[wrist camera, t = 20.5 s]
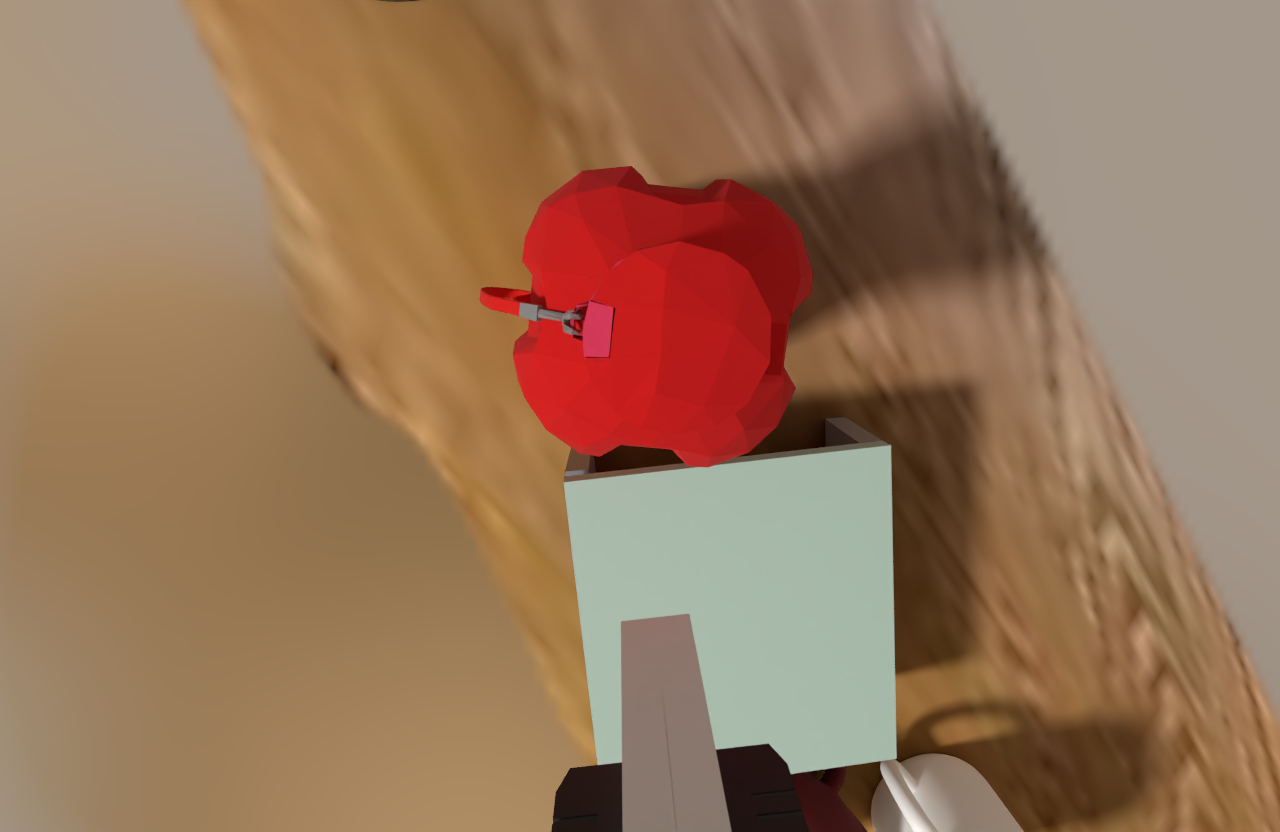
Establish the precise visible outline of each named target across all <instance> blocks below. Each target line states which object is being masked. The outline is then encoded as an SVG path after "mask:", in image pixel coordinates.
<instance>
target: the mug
mask: <svg viewBox="0 0 1280 832" xmlns="http://www.w3.org/2000/svg"><path fill="white" fill-rule="evenodd" d="M845 768H846V767H845V766H843V767H836V768H829V769H826V771H825V774H824V776H823V777H822V779H821V780H820V781H819V780H818V779H816V778H815V777H814V776H812V775H811V774H810V773H808V772H801V773H794V774H791V776H792V779H793V783H794V786H795V789H796V794H797V795H798V798H799V801H800V804H801V807H802V811H803V815H804V816H805V819H806V822H807V825H808V828H809V831H810V832H867V831H866V829H865V828H864V827H863V826H862V824H861V823H860V822H859V821H858V819H857V818H856V817H855V816H854V815H853V813H852V812H851V811H850V810H849V809H848V807H847V806H846V805H845V804H844V802H843V801H842V800H841V798H840V797H839V796H838V791H839V789H840V787H841V786H842V784H843V781H844V778H845Z"/></svg>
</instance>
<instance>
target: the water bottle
mask: <svg viewBox="0 0 1280 832" xmlns="http://www.w3.org/2000/svg"><path fill="white" fill-rule="evenodd" d="M522 262H523V263H524V264H525V266H526V267H527V268H528V270H529V271H530V272H531V274H532V275H533V278H532V290H531V292H530V291H524V290H518V289H507V288H498V287H485V288H482V289H481V292H480V302H481V303H482V304H483V305H484V306H486V307H488V308H489V309H492V310H497V311H500V312H505V313H510V314H513V315H517V316H519V317H522V318H526V319H529V328H528V331H527V332H525V333H524V334H523V335H522V336H521V337H520V338H518V339H517V340H516V341H515V345H514V351H513V358H514V363H515V367H516V372H517V377H518V381H519V384H520V387H521V389H522V392H523V394H524V397H525V399H526V400H527V402H528V404H529V405H530V407H531V408H532V410H533V411H534V413H535V414H536V415H537V417H538V418H539V420H540V421H541V423H542V424H543V426H544V427H545V428H546V430H547V431H549V432H550V433H552V434H553V435H554V436H556V437H557V438H559V439H560V440H562V441H563V442H564V443H566V444H567V445H569V446H570V447H572V448H573V449H574V450H576V451H577V452H579V453H581V454H587V455H594V456H602V455H604V454H605V453H607V452H609V451H611V450H613V449H614V448H616V447H618V446H620V445H627V446H638V447H649V448H661V449H671V450H672V451H673V452H674V453H675V454H676V455H677V456H678V457H679V458H680V459H681V460H682V461H683V462H684V463H686V464H687V465H688V466H692V467H707V468H708V467H711V466H714V465H717V464H719V463H722V462H725V461H727V460H730V459H733V458H735V457H738V456H741V455H743V454H746V453H749V452H750V451H751V450H752V449H753V448H754V447H755V446H756V445H758V444H759V443H760V442H761V441H762V440H763V439H764V438H765V437H766V436H767V435H768V434H770V433H771V432H772V431H773V430H774V429H775V428H776V427H777V426H778V424H779V422H780V420H781V418H782V416H783V413H784V411H785V409H786V407H787V405H788V403H789V401H790V399H791V397H792V395H793V393H794V391H795V389H796V387H795V386H794V384H793V382H792V380H791V379H790V377H789V375H788V373H787V372H786V370H785V368H784V359H785V352H786V345H787V338H788V331H789V324H790V317H791V313H792V312H793V311H794V310H795V309H796V308H797V307H798V306H799V305H800V304H801V303H802V302H803V301H804V300H805V299H806V298H807V297H808V296H809V295H810V294H811V290H812V279H813V272H812V268H811V265H810V261H809V258H808V254H807V251H806V247H805V244H804V240H803V237H802V233H801V230H800V227H799V226H798V225H797V224H796V223H795V222H794V221H793V220H792V219H791V218H790V217H789V216H788V215H787V214H786V213H785V212H784V211H783V210H782V209H781V208H780V207H779V206H778V205H776V204H775V203H774V202H773V201H772V200H771V199H769V198H767V197H765V196H763V195H761V194H759V193H757V192H755V191H753V190H751V189H749V188H747V187H745V186H743V185H741V184H739V183H737V182H735V181H733V180H715V181H714V182H712V183H711V184H710V185H708V186H707V187H706V188H705V189H703V190H695V189H686V188H677V187H668V186H659V185H650V184H647V182H646V181H645V179H644V178H643V177H642V175H641V174H640V173H638V172H637V171H636V170H635V169H634V168H633V167H632V166H627V167H617V168H607V169H597V170H587V171H582V172H581V173H579V174H578V175H577V176H575V177H574V178H573V179H571V180H570V181H569V182H567V183H566V184H565V185H563V186H562V187H561V188H560V189H558V190H557V191H556V192H554V193H553V194H552V195H550V196H549V197H548V198H546V199H545V200H544V201H542V202H541V204H540V206H539V209H538V211H537V213H536V215H535V217H534V219H533V221H532V224H531V226H530V228H529V230H528V232H527V234H526V236H525V243H524V251H523V258H522ZM504 298H507V299H504ZM510 299H513V300H510Z"/></svg>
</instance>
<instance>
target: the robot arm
mask: <svg viewBox="0 0 1280 832" xmlns="http://www.w3.org/2000/svg"><path fill="white" fill-rule="evenodd" d="M380 1H395V2H399V1H413V0H380ZM621 703H622V762H620V763H612V764H603V765H594V766H586V767H577V768H570V770H569V771H568V773H567V775H566V776H565V778H564V780H563V781H562V783H561V785H560V786H559V788H558V790H557V791H556V796H555V806H554V814H553V824H552V832H810V831H809V828H808V825H807V822H806V819H805V816H804V815H803V811H802V807H801V804H800V801H799V798H798V795H797V794H796V789H795V786H794V783H793V779H792V776H791V773H790V770H789V767H788V764H787V763H786V762H785V761H784V760H783V758H782V757H781V756H780V755H779V754H778V753H777V752H776V751H775V750H774V749H773V748H772V747H771V746H770V744H769V743H768V744H760V745H751V746H742V747H734V748H725V749H715V743H714V738H713V733H712V728H711V723H710V718H709V712H708V707H707V702H706V697H705V692H704V687H703V681H702V676H701V671H700V666H699V661H698V656H697V651H696V645H695V640H694V635H693V630H692V625H691V620H690V614H681V615H672V616H663V617H654V618H646V619H637V620H628V621H621Z"/></svg>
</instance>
